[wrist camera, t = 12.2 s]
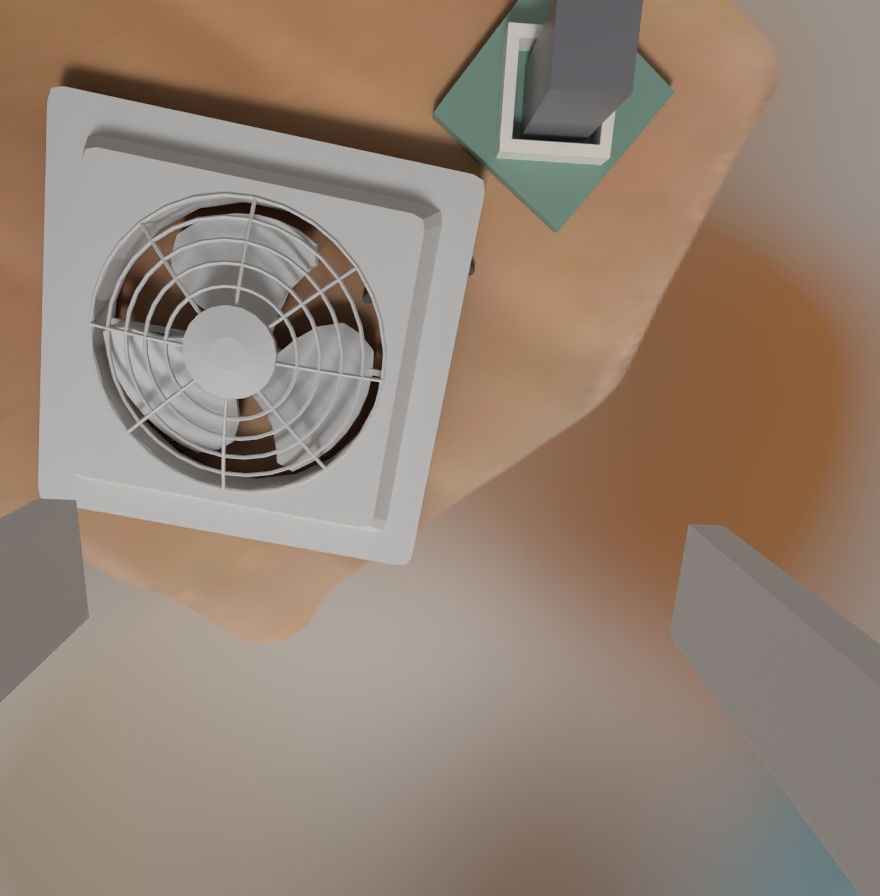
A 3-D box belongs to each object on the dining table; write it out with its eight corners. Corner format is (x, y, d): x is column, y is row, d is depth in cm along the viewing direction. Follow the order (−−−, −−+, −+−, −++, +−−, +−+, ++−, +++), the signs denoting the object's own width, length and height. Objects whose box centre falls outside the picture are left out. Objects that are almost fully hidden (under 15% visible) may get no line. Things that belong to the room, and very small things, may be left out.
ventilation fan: (-2, 520, 42) (1, 57, 34) (55, 491, 48) (68, 94, 41) (406, 592, 43) (493, 163, 36) (410, 555, 49) (485, 183, 42)
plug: (520, 139, 41) (549, 88, 31) (525, 63, 40) (558, -13, 30) (582, 142, 41) (632, 93, 31) (590, 67, 40) (643, -8, 30)
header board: (432, 118, 41) (433, 103, 38) (545, -31, 39) (555, -59, 36) (554, 232, 44) (564, 227, 40) (667, 97, 42) (687, 81, 38)
